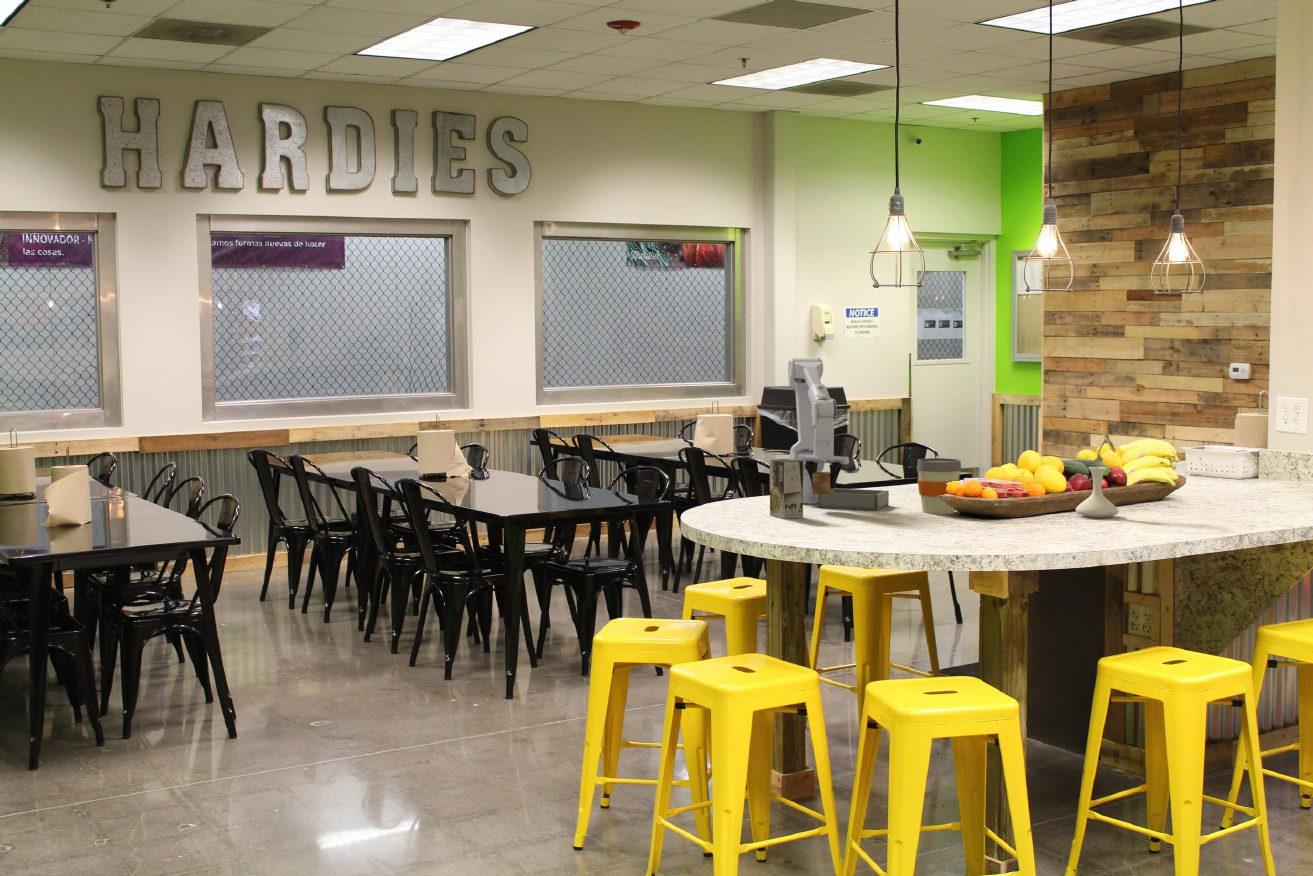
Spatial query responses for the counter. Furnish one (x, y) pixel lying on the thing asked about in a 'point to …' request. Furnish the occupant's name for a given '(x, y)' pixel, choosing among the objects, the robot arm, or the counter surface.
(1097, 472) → the flower in vase
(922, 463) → the reusable coffee cup
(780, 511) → the coffee box
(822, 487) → the walnut block
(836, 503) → the slate bin
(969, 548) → the counter surface
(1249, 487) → the counter surface
